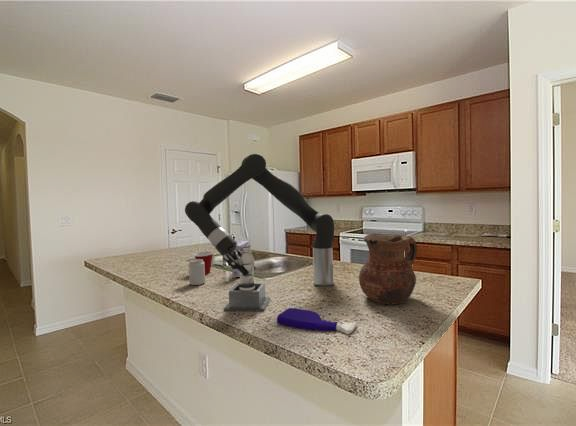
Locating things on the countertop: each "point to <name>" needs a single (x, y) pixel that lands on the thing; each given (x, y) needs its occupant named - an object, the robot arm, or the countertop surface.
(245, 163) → the robot arm
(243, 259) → the plastic bottle
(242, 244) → the cake pan box
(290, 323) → the spray bottle
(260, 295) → the rack socket
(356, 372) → the countertop surface
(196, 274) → the can
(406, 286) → the jug
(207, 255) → the plastic cup
